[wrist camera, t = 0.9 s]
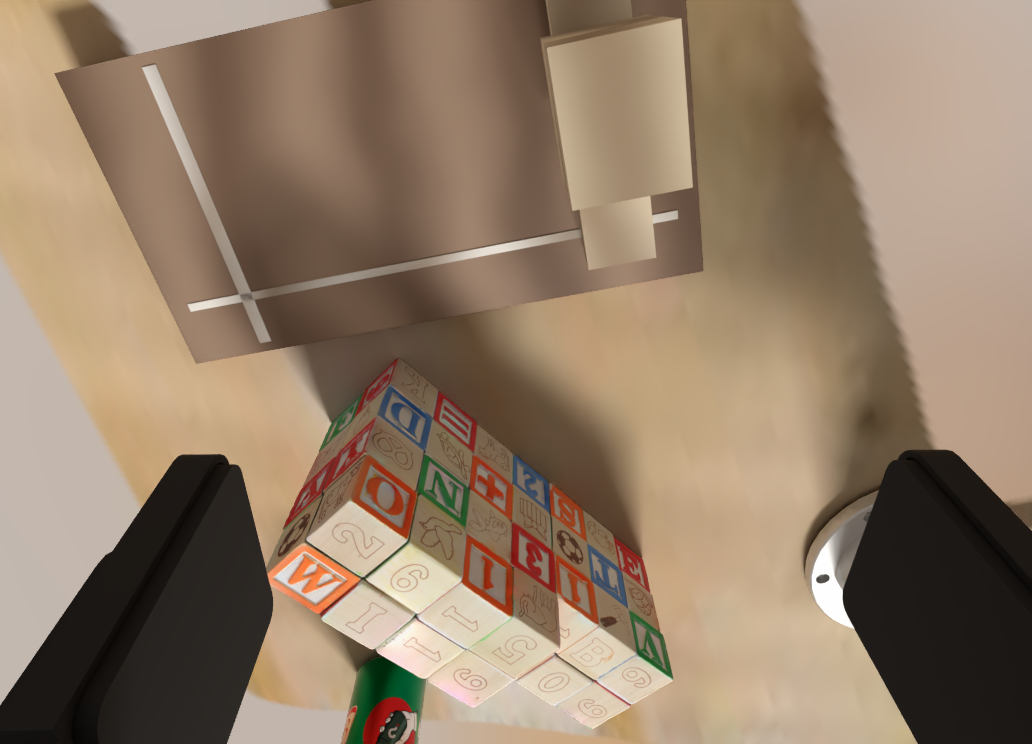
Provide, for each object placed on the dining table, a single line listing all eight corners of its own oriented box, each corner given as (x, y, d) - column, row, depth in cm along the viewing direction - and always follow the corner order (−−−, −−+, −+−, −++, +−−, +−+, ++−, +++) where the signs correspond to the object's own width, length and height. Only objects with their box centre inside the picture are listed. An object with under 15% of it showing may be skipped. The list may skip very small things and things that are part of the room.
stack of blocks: (646, 556, 44) (689, 736, 33) (576, 604, 46) (595, 787, 35) (396, 354, 37) (348, 501, 26) (327, 422, 39) (255, 583, 28)
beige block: (640, -154, 25) (704, -233, 17) (672, 225, 33) (729, 306, 24) (486, -117, 26) (472, -174, 17) (551, 247, 33) (564, 335, 25)
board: (670, -67, 27) (681, -72, 25) (693, 256, 34) (703, 271, 32) (81, 69, 30) (53, 73, 28) (211, 346, 36) (195, 364, 34)
